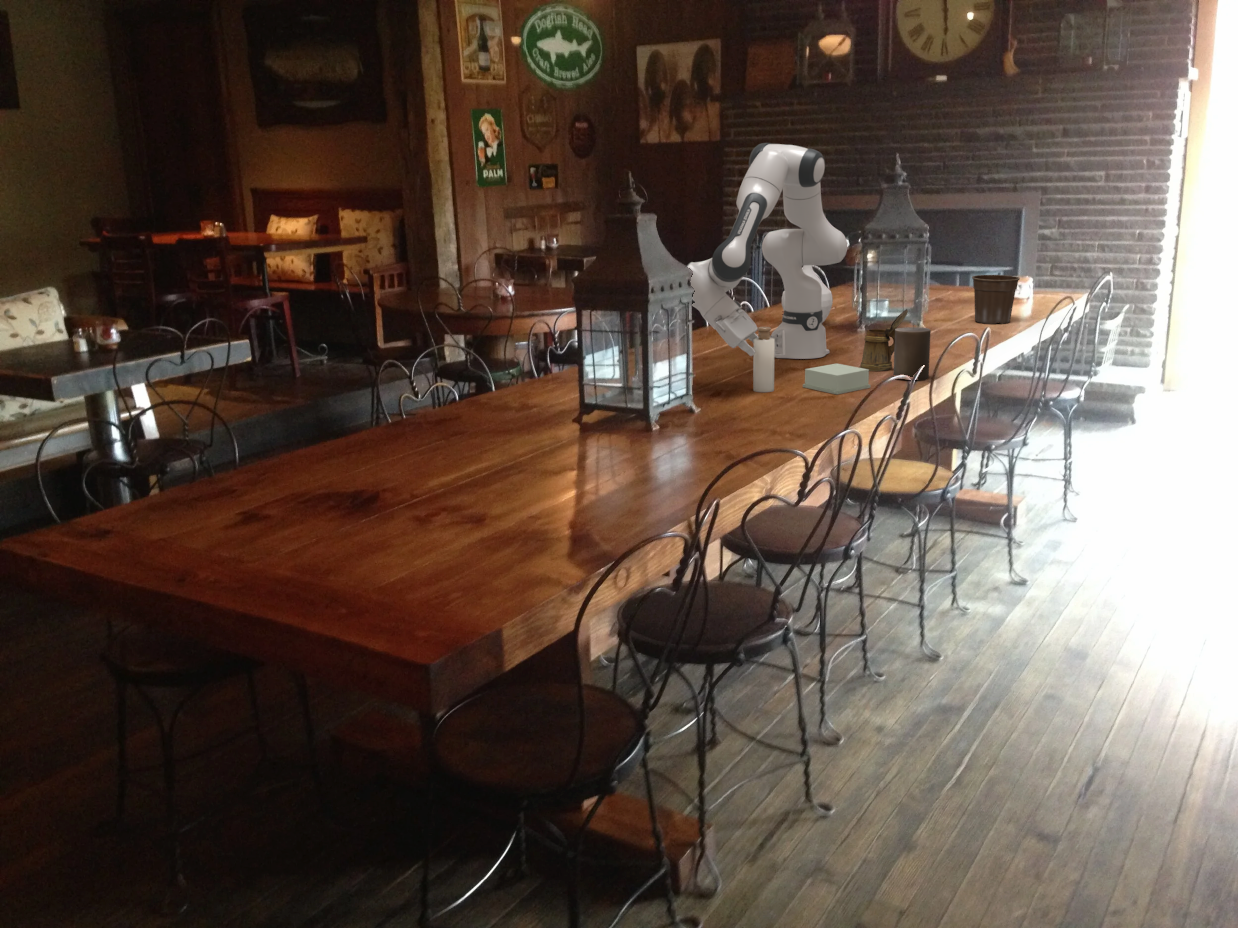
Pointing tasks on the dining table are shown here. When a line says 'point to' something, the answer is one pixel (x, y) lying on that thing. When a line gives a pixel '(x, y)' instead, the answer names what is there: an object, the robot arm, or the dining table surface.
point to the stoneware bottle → (763, 361)
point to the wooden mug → (880, 346)
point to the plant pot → (994, 298)
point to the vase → (826, 293)
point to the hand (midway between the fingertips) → (758, 351)
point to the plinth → (836, 378)
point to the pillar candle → (912, 351)
